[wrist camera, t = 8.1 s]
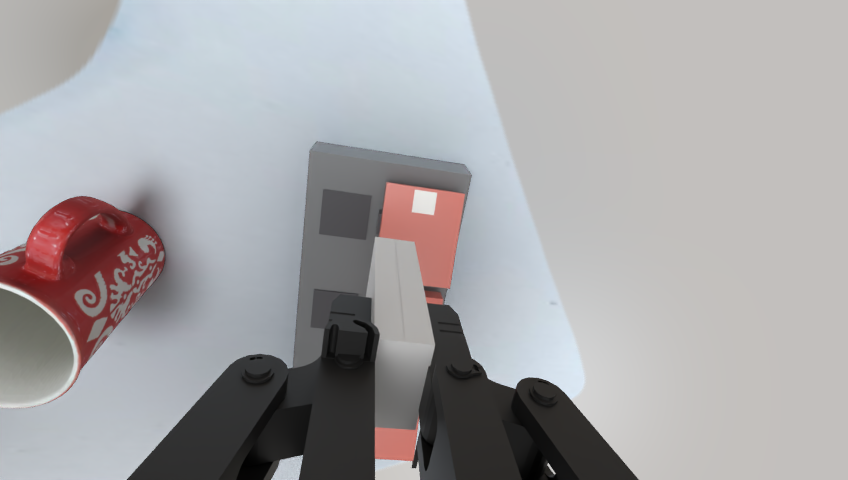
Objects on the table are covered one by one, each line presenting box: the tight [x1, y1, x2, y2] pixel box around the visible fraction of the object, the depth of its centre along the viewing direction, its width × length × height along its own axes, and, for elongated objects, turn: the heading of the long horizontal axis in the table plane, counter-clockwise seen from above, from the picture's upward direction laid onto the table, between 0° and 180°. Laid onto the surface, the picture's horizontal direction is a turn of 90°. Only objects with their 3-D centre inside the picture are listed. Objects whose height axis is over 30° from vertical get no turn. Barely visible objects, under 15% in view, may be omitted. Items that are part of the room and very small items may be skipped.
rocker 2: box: [379, 182, 465, 289], centre depth 33 cm, size 6×7×2 cm
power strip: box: [293, 142, 472, 368], centre depth 40 cm, size 12×30×5 cm, turn 170°
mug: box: [0, 196, 165, 408], centre depth 31 cm, size 13×9×14 cm
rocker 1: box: [375, 417, 419, 461], centre depth 39 cm, size 6×7×2 cm
